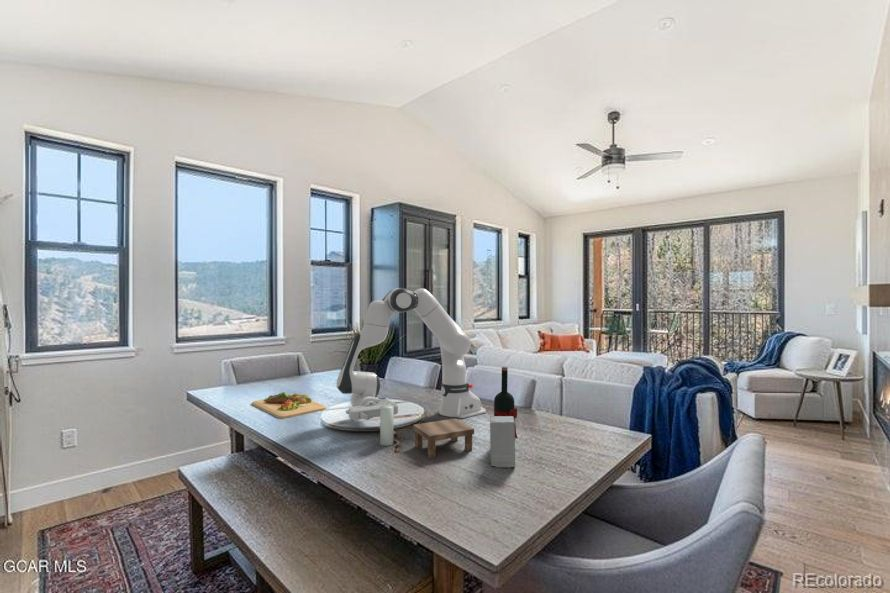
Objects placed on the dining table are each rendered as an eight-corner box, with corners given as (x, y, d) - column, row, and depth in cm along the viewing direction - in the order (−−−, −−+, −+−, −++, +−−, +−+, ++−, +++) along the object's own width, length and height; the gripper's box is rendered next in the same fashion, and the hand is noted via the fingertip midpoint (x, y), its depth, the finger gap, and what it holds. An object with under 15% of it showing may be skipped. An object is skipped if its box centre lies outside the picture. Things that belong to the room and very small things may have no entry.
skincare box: (514, 461, 153) (514, 415, 153) (515, 469, 146) (516, 421, 146) (489, 459, 154) (490, 414, 154) (489, 468, 147) (490, 420, 146)
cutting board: (328, 410, 214) (328, 395, 214) (281, 420, 198) (281, 403, 198) (294, 397, 239) (294, 383, 239) (250, 405, 223) (250, 390, 222)
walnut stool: (455, 438, 175) (455, 418, 175) (474, 450, 162) (474, 428, 162) (413, 445, 167) (413, 424, 166) (429, 459, 154) (429, 436, 154)
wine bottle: (509, 454, 159) (510, 371, 158) (488, 446, 167) (489, 366, 166) (523, 449, 164) (524, 368, 163) (503, 441, 172) (503, 364, 171)
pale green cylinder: (390, 440, 172) (390, 404, 172) (395, 444, 168) (395, 407, 168) (378, 442, 170) (378, 405, 170) (382, 446, 166) (382, 409, 165)
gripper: (344, 402, 184) (353, 411, 172) (391, 397, 193) (402, 405, 181) (344, 418, 184) (353, 427, 172) (391, 411, 194) (402, 420, 181)
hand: (379, 416), depth 177 cm, fingers open, 8 cm apart
